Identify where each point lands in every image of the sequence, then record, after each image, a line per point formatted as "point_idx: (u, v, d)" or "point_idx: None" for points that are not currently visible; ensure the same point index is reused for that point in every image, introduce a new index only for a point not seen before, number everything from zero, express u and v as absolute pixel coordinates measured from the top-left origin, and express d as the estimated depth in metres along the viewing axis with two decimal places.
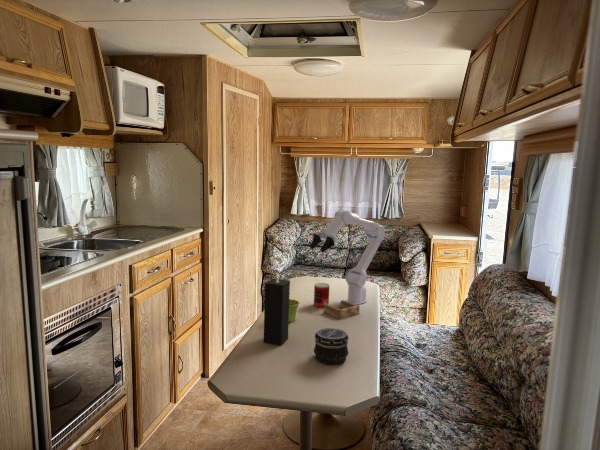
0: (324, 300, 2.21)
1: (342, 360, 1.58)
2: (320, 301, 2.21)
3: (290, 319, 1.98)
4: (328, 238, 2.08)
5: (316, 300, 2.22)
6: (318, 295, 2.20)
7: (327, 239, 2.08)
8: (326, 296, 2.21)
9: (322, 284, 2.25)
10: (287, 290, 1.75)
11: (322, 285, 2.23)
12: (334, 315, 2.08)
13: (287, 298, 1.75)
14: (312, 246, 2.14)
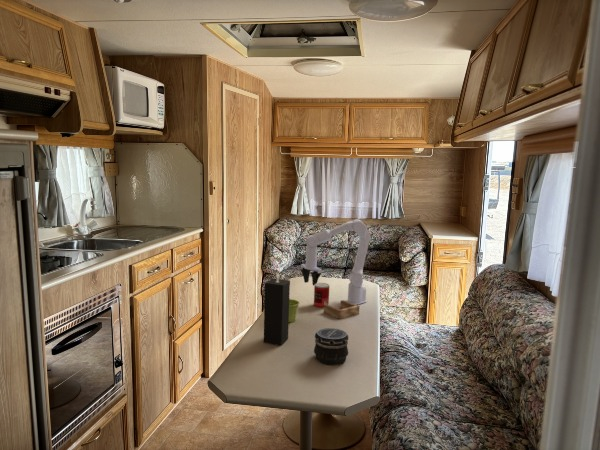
0: (324, 300, 2.21)
1: (342, 360, 1.58)
2: (320, 302, 2.21)
3: (290, 319, 1.98)
4: (312, 274, 2.25)
5: (316, 300, 2.22)
6: (318, 295, 2.20)
7: (312, 275, 2.25)
8: (326, 296, 2.21)
9: (322, 284, 2.25)
10: (287, 290, 1.75)
11: (322, 285, 2.23)
12: (334, 315, 2.08)
13: (287, 298, 1.75)
14: (306, 280, 2.33)
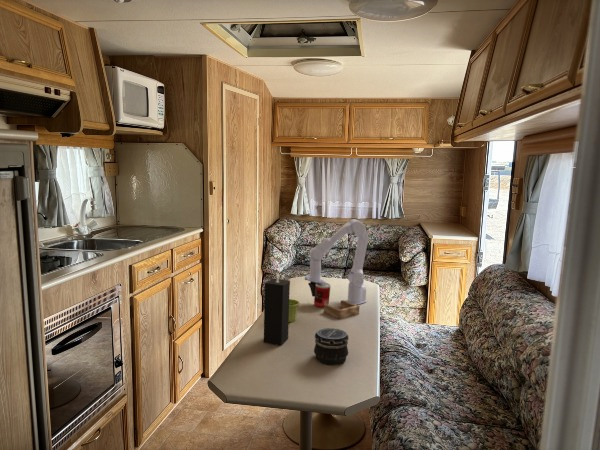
0: (324, 300, 2.21)
1: (342, 360, 1.58)
2: (321, 301, 2.20)
3: (290, 319, 1.98)
4: (312, 285, 2.25)
5: (316, 300, 2.21)
6: (319, 295, 2.20)
7: (312, 286, 2.26)
8: (327, 296, 2.21)
9: None
10: (287, 290, 1.75)
11: None
12: (334, 315, 2.08)
13: (287, 298, 1.75)
14: None
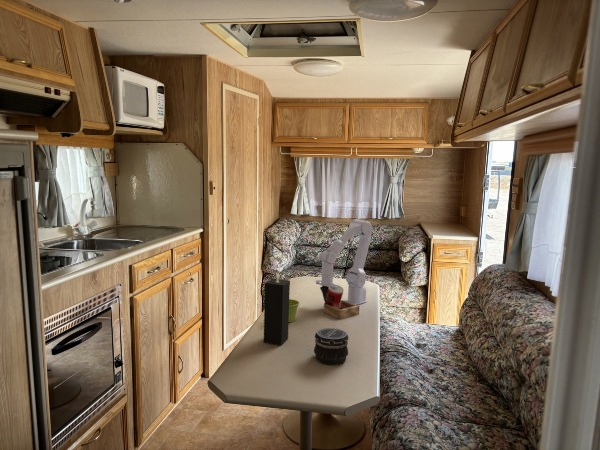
0: (335, 305, 2.14)
1: (342, 360, 1.58)
2: (331, 305, 2.14)
3: (290, 319, 1.98)
4: (325, 290, 2.18)
5: (327, 303, 2.15)
6: (330, 299, 2.13)
7: (324, 291, 2.19)
8: (338, 301, 2.14)
9: None
10: (287, 290, 1.75)
11: (336, 289, 2.15)
12: (334, 315, 2.08)
13: (287, 298, 1.75)
14: None
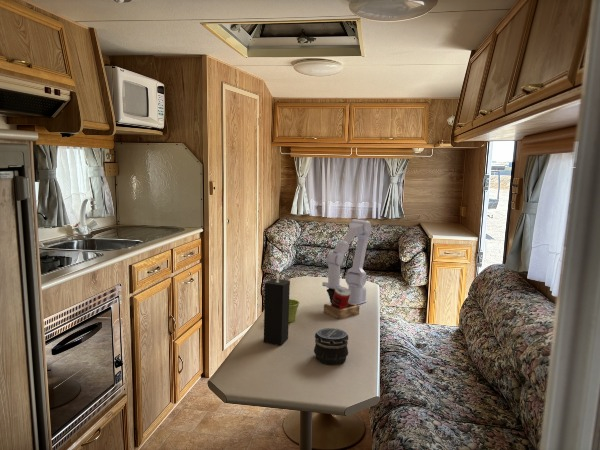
0: (341, 307, 2.10)
1: (342, 360, 1.58)
2: None
3: (290, 319, 1.98)
4: (331, 292, 2.14)
5: (333, 305, 2.12)
6: (337, 301, 2.10)
7: (331, 293, 2.15)
8: (344, 304, 2.10)
9: None
10: (287, 290, 1.75)
11: None
12: (334, 315, 2.08)
13: (287, 298, 1.75)
14: None
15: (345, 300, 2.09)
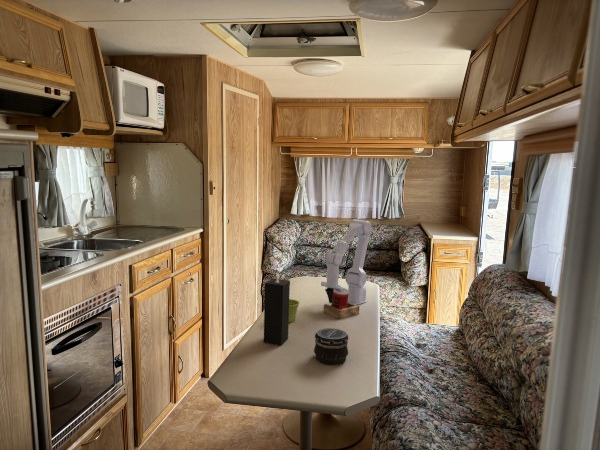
0: (341, 307, 2.10)
1: (342, 360, 1.58)
2: None
3: (290, 319, 1.98)
4: (330, 292, 2.15)
5: (333, 306, 2.12)
6: (336, 301, 2.10)
7: (330, 293, 2.16)
8: (344, 303, 2.11)
9: None
10: (287, 290, 1.75)
11: None
12: (334, 315, 2.08)
13: (287, 298, 1.75)
14: None
15: (344, 299, 2.10)
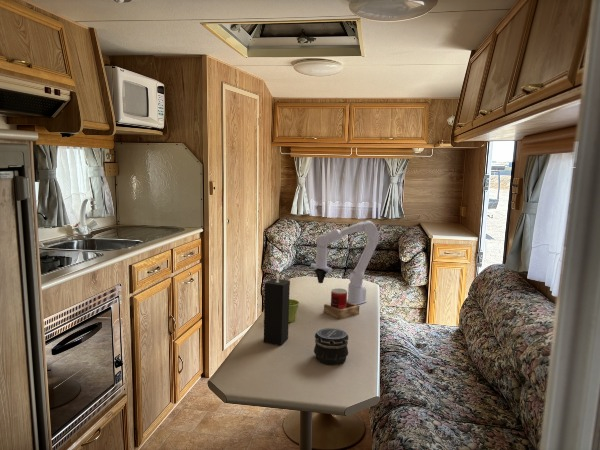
0: (341, 307, 2.11)
1: (342, 360, 1.58)
2: None
3: (290, 319, 1.98)
4: (319, 272, 2.27)
5: None
6: (335, 301, 2.11)
7: (319, 273, 2.28)
8: (343, 303, 2.11)
9: (340, 290, 2.15)
10: (287, 290, 1.75)
11: (339, 291, 2.14)
12: (334, 315, 2.08)
13: (287, 298, 1.75)
14: None
15: (343, 298, 2.11)
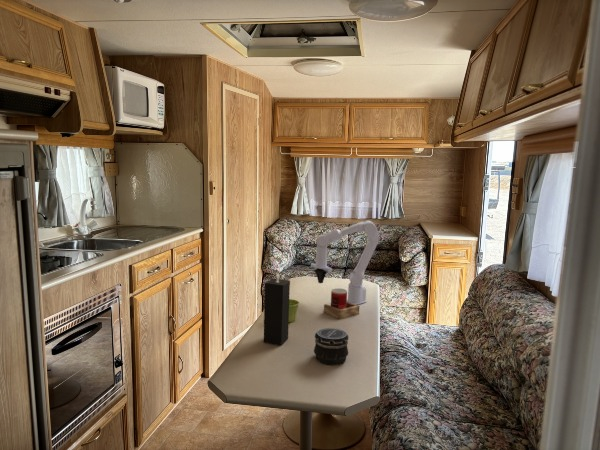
0: (341, 307, 2.11)
1: (342, 360, 1.58)
2: None
3: (290, 319, 1.98)
4: (319, 272, 2.27)
5: None
6: (335, 301, 2.11)
7: (319, 273, 2.28)
8: (343, 303, 2.11)
9: (340, 290, 2.15)
10: (287, 290, 1.75)
11: (339, 291, 2.14)
12: (334, 315, 2.08)
13: (287, 298, 1.75)
14: None
15: (343, 299, 2.11)
